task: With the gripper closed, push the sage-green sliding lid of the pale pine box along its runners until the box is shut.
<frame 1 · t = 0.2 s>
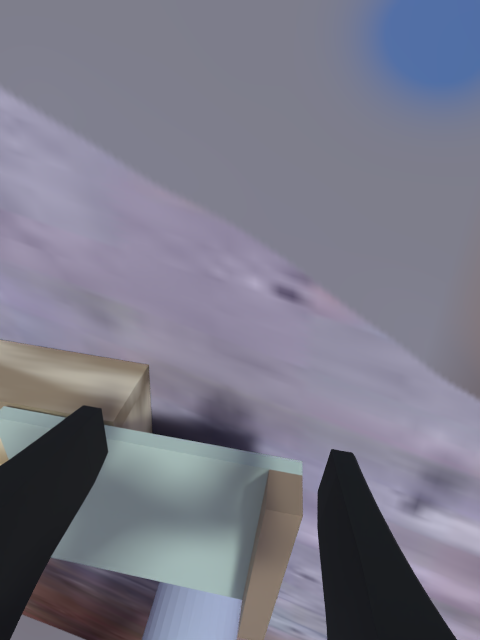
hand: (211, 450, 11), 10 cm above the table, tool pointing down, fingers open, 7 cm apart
box: (53, 419, 27), on the table
lid: (143, 534, 20), point 7 cm above the table, slide at 10.0 cm
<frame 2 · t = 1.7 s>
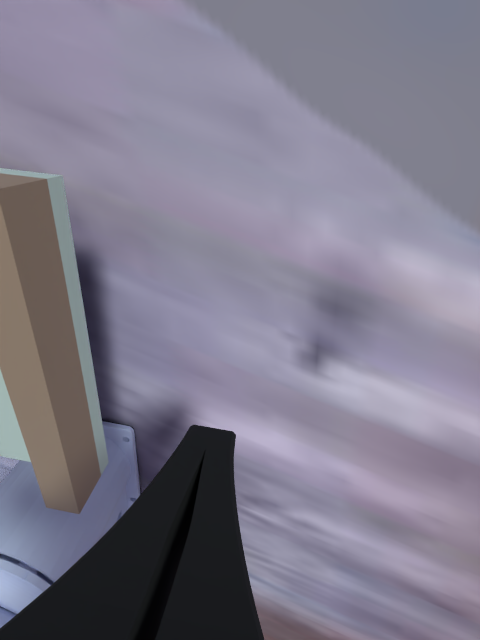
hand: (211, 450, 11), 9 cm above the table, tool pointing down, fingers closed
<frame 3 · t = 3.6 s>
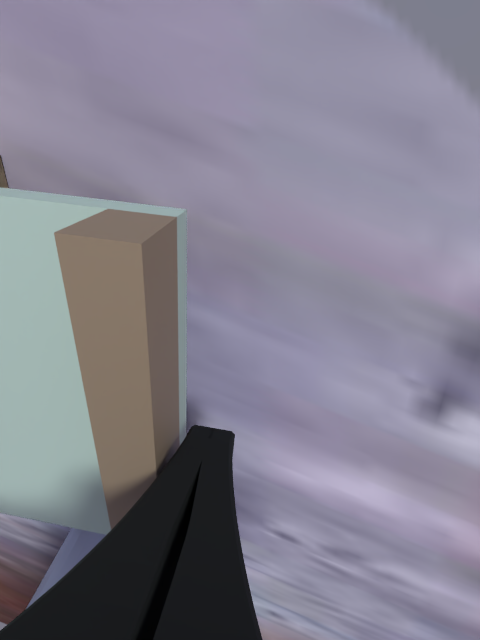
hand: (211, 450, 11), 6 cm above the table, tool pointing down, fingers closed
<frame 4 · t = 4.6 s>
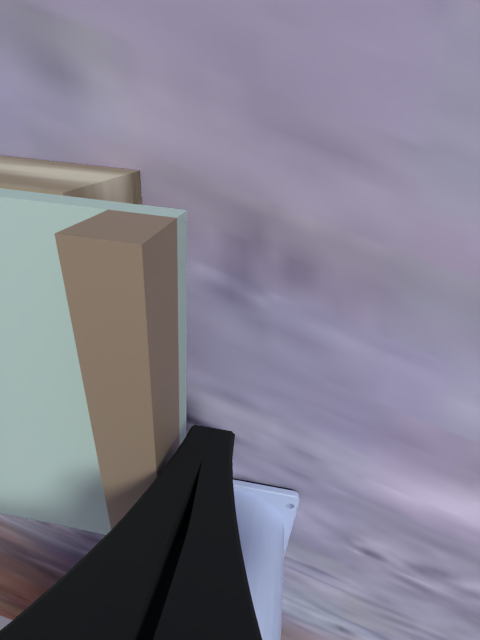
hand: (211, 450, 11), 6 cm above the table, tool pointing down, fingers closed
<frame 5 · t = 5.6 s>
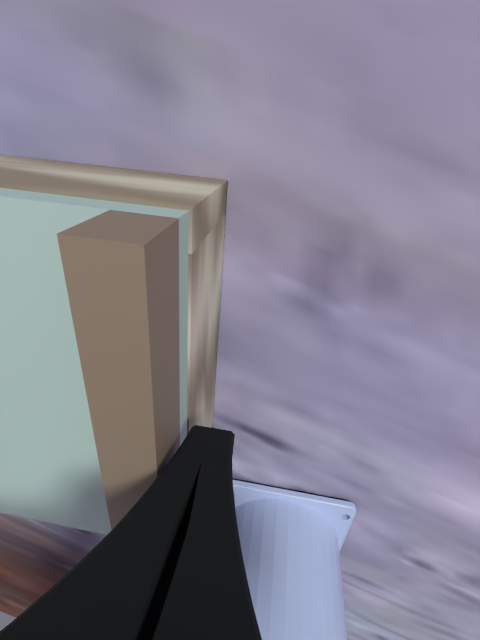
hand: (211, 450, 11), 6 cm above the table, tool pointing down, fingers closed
box: (60, 312, 17), on the table
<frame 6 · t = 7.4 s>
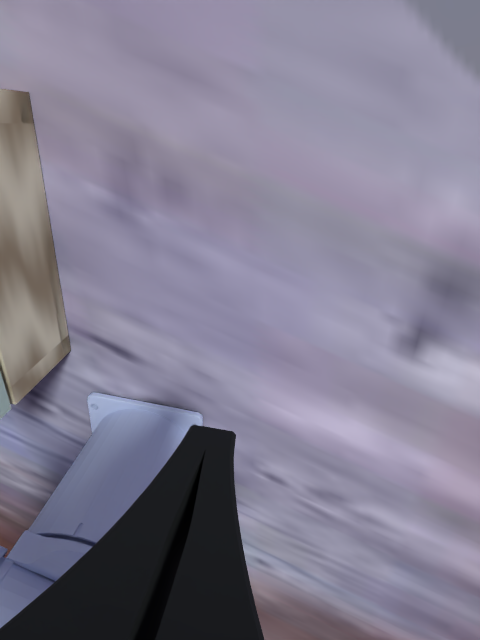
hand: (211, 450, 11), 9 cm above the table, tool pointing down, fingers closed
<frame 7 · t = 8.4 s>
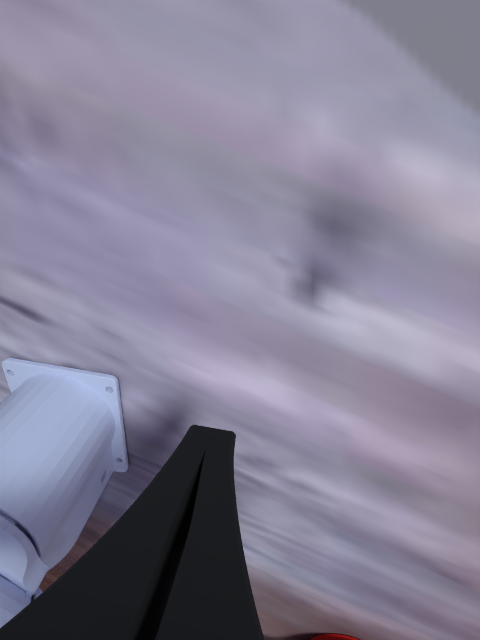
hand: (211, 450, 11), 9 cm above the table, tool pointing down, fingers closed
ceramic cup: (323, 638, 38), on the table
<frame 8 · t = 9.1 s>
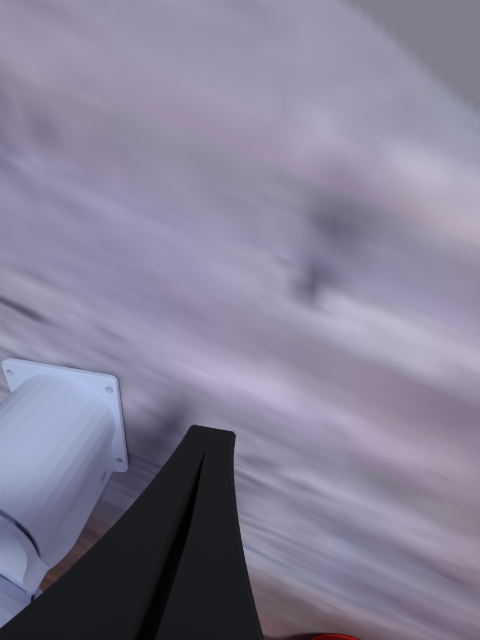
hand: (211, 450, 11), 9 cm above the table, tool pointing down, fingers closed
ceramic cup: (323, 638, 38), on the table
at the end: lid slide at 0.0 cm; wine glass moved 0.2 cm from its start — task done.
